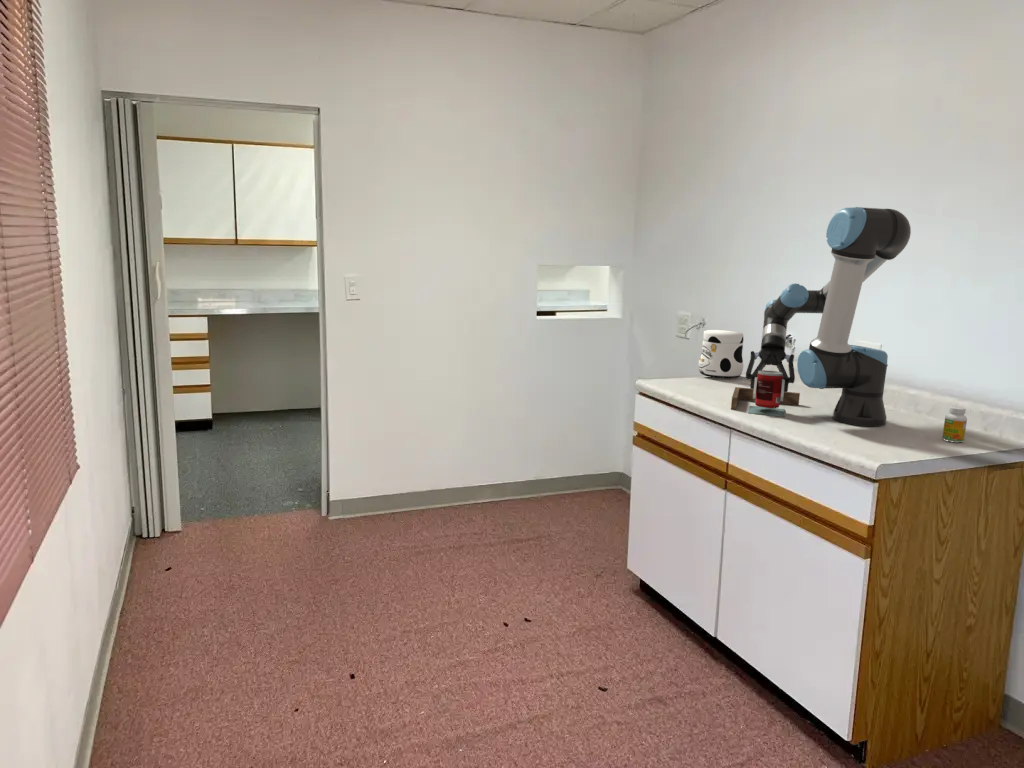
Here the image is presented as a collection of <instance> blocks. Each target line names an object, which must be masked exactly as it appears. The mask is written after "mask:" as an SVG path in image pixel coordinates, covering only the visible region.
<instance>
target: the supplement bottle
mask: <svg viewBox="0 0 1024 768" xmlns="http://www.w3.org/2000/svg"><path fill="white" fill-rule="evenodd" d="M948 412H949V413H947V414H945V417H944V424H943V429H942V434H941V435H942V436H941V438H943V439H945V440H948V441H953V442H963V441H964V442H965V436H966V430H967V422H968V417H967V416H966V415H965V414H966V407H963V406H957V405H950V406H949V408H948ZM943 439H942V440H943ZM964 442H963V443H964Z"/></svg>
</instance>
